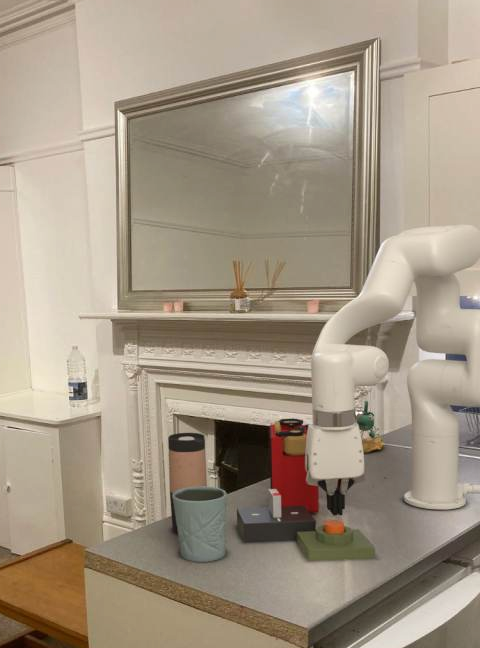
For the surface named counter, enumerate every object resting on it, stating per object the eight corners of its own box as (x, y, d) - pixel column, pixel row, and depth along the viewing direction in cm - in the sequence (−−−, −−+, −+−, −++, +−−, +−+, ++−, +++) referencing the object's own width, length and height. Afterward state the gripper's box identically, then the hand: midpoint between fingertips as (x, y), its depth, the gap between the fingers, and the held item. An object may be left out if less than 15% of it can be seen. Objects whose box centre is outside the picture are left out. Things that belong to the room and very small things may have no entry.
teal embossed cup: (237, 558, 152) (235, 496, 150) (187, 567, 149) (184, 503, 147) (214, 541, 161) (212, 483, 160) (167, 549, 159) (164, 489, 157)
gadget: (304, 523, 169) (304, 504, 169) (316, 540, 159) (315, 519, 159) (237, 526, 170) (236, 507, 169) (244, 543, 160) (244, 522, 159)
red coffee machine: (319, 519, 172) (318, 426, 169) (270, 518, 174) (268, 427, 171) (314, 497, 187) (313, 412, 184) (269, 497, 189) (267, 413, 186)
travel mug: (170, 525, 173) (166, 433, 170) (206, 523, 173) (203, 431, 170) (172, 537, 165) (168, 441, 163) (210, 535, 165) (207, 439, 162)
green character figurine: (399, 444, 233) (397, 395, 230) (367, 463, 222) (364, 412, 218) (368, 439, 240) (365, 391, 237) (335, 458, 229) (332, 408, 225)
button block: (358, 540, 158) (358, 520, 158) (374, 558, 148) (374, 537, 148) (296, 542, 159) (296, 522, 158) (308, 561, 149) (308, 540, 148)
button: (341, 528, 155) (341, 519, 154) (346, 534, 151) (346, 525, 151) (322, 529, 155) (322, 520, 154) (327, 535, 151) (327, 526, 151)
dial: (268, 510, 167) (268, 487, 166) (276, 510, 166) (276, 487, 166) (273, 517, 162) (272, 494, 161) (281, 517, 162) (281, 494, 161)
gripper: (368, 411, 153) (369, 504, 156) (288, 416, 154) (291, 509, 157) (381, 419, 146) (382, 517, 149) (297, 425, 146) (300, 522, 149)
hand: (336, 513), depth 153 cm, fingers closed
